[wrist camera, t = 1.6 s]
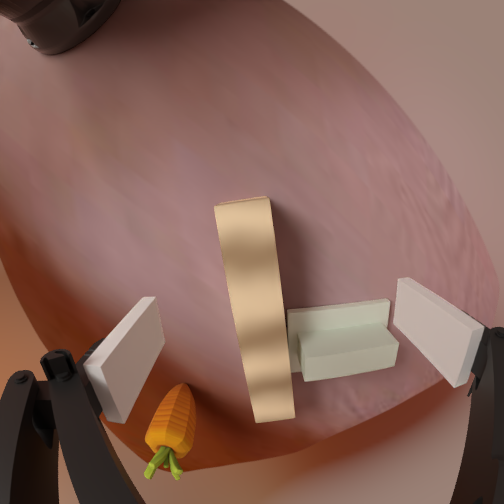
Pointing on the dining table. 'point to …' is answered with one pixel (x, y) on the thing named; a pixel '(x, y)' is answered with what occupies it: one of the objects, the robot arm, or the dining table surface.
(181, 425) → the carrot
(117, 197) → the dining table surface
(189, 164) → the dining table surface
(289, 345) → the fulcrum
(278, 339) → the birch bar
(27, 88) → the dining table surface
